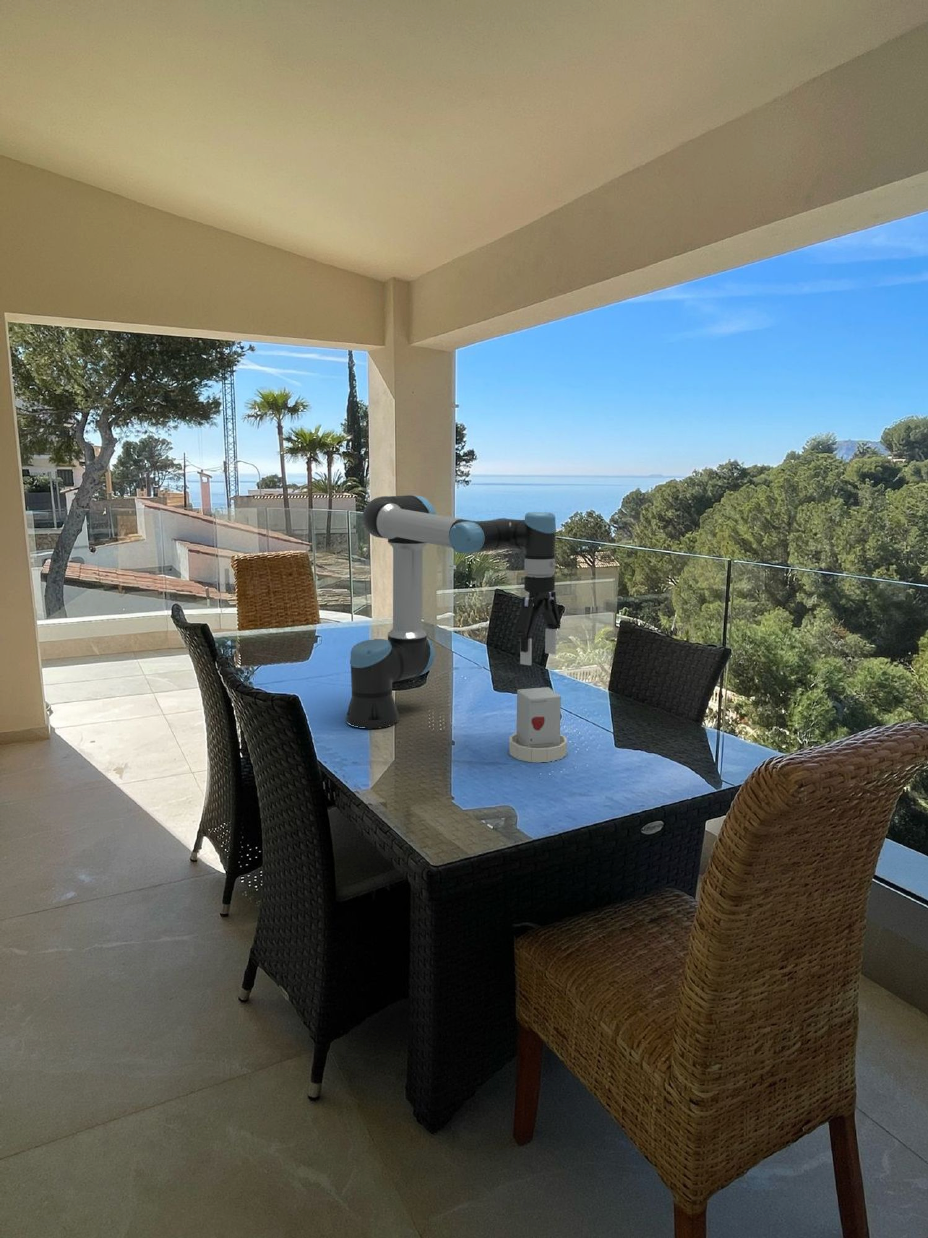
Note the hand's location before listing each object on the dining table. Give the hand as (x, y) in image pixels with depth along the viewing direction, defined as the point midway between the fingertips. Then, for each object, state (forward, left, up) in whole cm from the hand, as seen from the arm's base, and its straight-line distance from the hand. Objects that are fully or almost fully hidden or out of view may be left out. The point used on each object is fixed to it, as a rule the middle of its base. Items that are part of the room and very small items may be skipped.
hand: (538, 658), depth 194 cm
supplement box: (0, 0, -24) cm, 24 cm away
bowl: (0, 0, -25) cm, 25 cm away
